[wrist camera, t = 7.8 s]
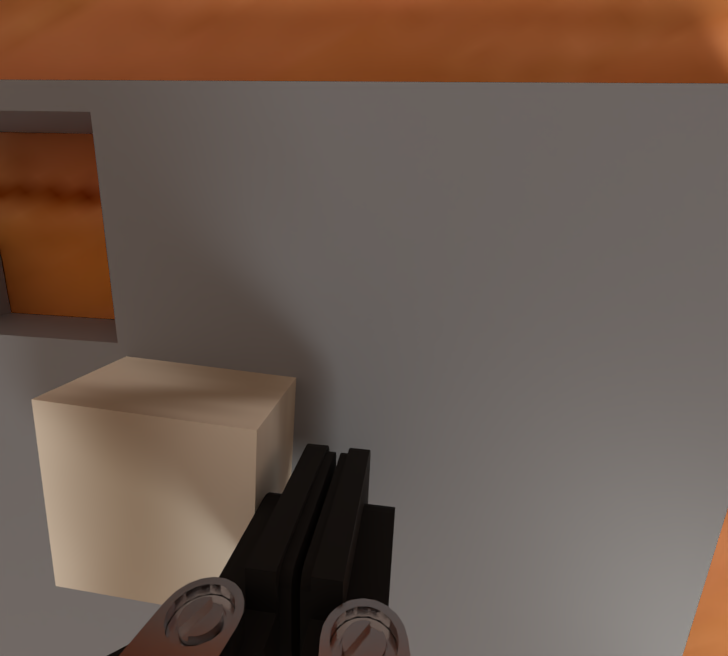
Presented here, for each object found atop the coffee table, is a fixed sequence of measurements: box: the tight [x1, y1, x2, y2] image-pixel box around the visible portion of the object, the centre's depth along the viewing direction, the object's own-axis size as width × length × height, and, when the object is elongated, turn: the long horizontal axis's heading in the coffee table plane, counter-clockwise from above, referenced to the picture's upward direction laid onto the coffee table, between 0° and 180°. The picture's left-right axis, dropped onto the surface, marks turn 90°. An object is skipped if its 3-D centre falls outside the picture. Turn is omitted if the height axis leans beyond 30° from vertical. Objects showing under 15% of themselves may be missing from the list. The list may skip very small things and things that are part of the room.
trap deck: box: [0, 80, 728, 656], centre depth 12 cm, size 30×20×4 cm, turn 88°
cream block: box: [31, 356, 296, 605], centre depth 10 cm, size 5×5×3 cm
